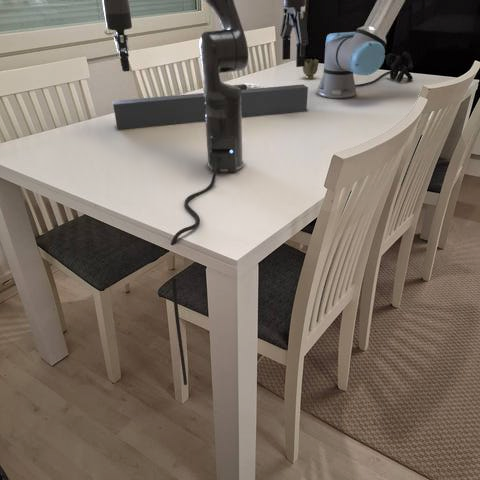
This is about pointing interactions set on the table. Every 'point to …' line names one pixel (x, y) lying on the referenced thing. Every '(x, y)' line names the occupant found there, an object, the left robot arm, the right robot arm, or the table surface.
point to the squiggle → (399, 66)
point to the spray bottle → (247, 86)
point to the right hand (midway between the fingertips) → (293, 62)
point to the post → (193, 106)
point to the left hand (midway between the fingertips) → (125, 68)
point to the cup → (310, 68)
